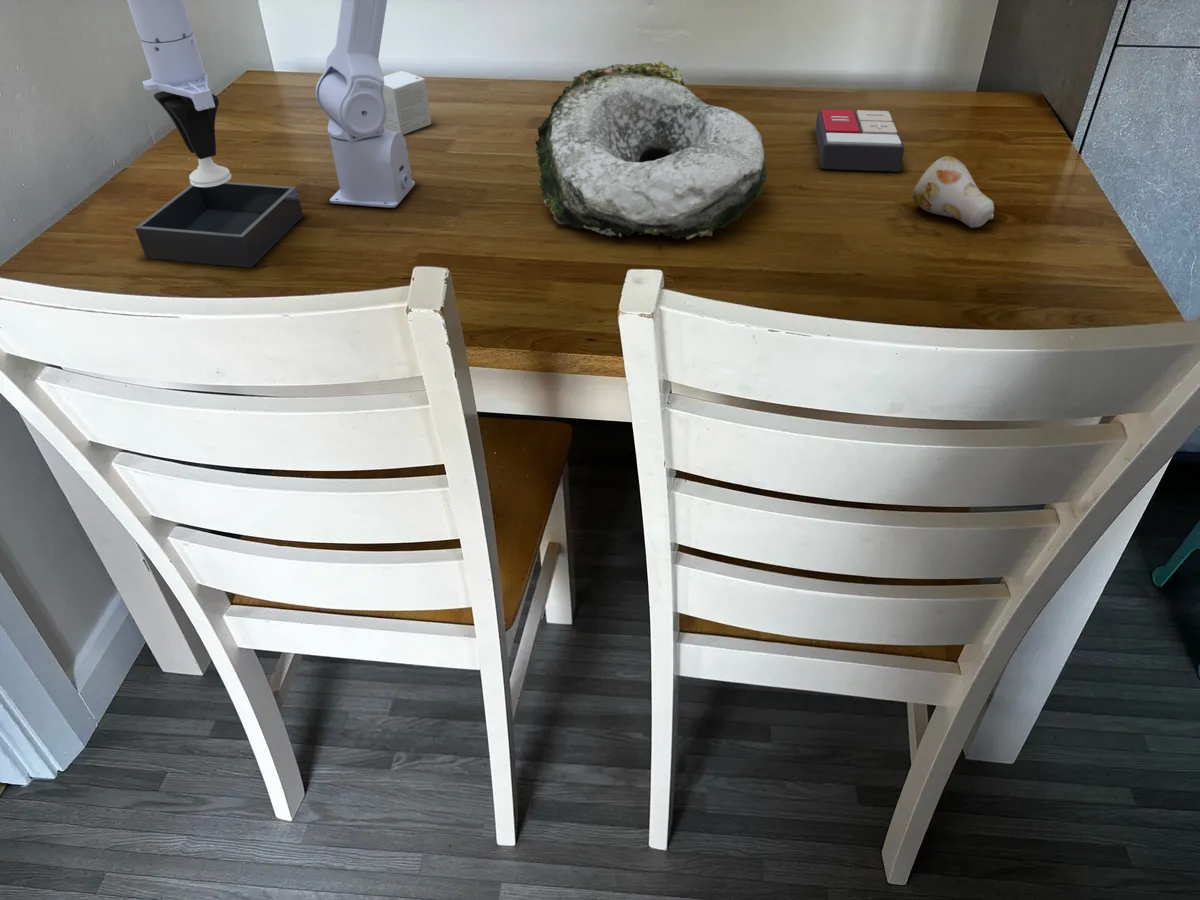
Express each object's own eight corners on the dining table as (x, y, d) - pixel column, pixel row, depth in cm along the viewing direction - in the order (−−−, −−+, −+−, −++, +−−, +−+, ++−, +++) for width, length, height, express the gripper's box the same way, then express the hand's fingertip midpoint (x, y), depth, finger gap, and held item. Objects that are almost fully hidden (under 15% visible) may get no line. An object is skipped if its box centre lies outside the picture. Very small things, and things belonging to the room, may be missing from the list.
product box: (409, 116, 148) (402, 69, 143) (432, 125, 144) (426, 78, 139) (378, 126, 144) (370, 79, 139) (401, 136, 141) (393, 88, 136)
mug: (975, 243, 112) (950, 168, 108) (918, 245, 120) (893, 176, 117) (1016, 213, 114) (992, 138, 110) (957, 217, 122) (933, 149, 119)
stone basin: (641, 88, 134) (665, -2, 121) (781, 221, 127) (823, 140, 114) (484, 164, 122) (493, 73, 108) (629, 316, 114) (657, 238, 101)
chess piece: (218, 188, 110) (193, 106, 104) (182, 186, 111) (155, 104, 105) (238, 172, 114) (215, 91, 108) (203, 169, 115) (178, 89, 108)
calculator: (892, 108, 137) (906, 141, 125) (886, 137, 139) (900, 172, 127) (818, 106, 138) (825, 139, 126) (814, 134, 140) (820, 169, 128)
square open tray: (303, 216, 120) (296, 186, 117) (251, 268, 109) (242, 237, 107) (206, 208, 122) (196, 179, 120) (146, 258, 112) (134, 227, 109)
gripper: (110, 28, 104) (150, 144, 113) (151, 58, 95) (191, 181, 104) (171, 16, 108) (205, 130, 116) (217, 44, 99) (250, 164, 108)
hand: (203, 153), depth 111 cm, fingers closed on chess piece
